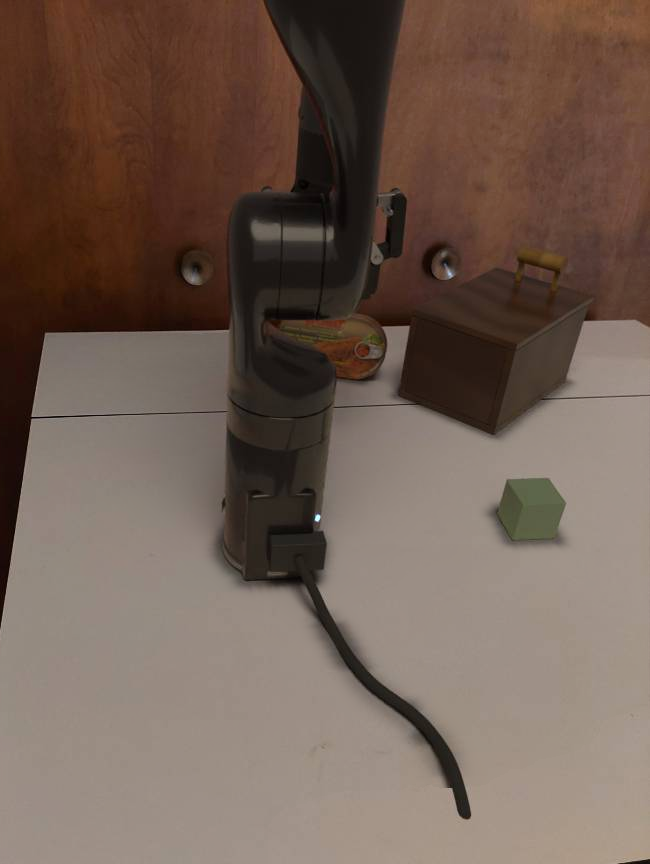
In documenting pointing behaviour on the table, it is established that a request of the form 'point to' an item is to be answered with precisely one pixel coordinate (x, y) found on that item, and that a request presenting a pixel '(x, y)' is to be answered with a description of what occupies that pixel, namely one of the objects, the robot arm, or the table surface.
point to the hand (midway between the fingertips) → (323, 296)
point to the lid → (507, 302)
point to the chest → (484, 371)
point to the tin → (344, 342)
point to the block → (531, 508)
